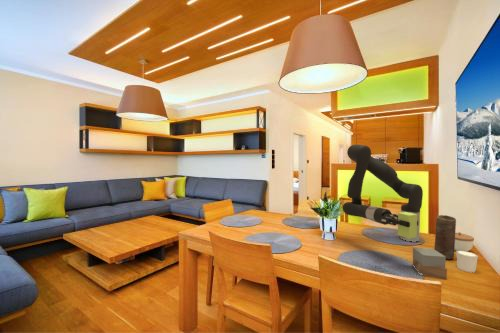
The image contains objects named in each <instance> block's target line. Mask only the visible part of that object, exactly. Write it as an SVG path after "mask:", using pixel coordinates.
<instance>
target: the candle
mask: <svg viewBox="0 0 500 333" xmlns="http://www.w3.org/2000/svg"><path fill="white" fill-rule="evenodd" d="M435 221H436V222H435V234H434V237H435V239H434V246H433V249H434V250H436V251H437V252H439V253H441V254H442V255H444V256H445V257H446V260H449V259H451V260H452V259H453V258H455V251H454V249H455V233H456V228H457V227H456V226H457V219H456V218H455V217H453V216H450V215H446V214H445V215H442V214H440V215H437V216H436V219H435Z"/></svg>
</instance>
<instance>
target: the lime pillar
mask: <svg viewBox="0 0 500 333" xmlns="http://www.w3.org/2000/svg"><path fill="white" fill-rule="evenodd" d="M397 215H398V219H400V220H403V221H407V222H410V227H405V226H402V225H397V236H403V237H406V238H409V239H410V238H415V237H417V214H413V213H408V212H401V211H400V212H398V213H397Z"/></svg>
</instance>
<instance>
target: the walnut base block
mask: <svg viewBox="0 0 500 333" xmlns="http://www.w3.org/2000/svg"><path fill="white" fill-rule="evenodd" d="M413 265H414V266H415V268H416V269H417V270H418V272H419V273H422V274H423V275H424V277H429V278H434V279H442V280H447V279H448V278H447V276H448V274H447V271H448V269H447V268H446V267H445V268H442V267H429V266H423V265H421V264H420V263H419V262H418V261H416V260H415V259H414V258H413V257H412V266H413ZM415 268H414V269H415Z"/></svg>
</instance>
